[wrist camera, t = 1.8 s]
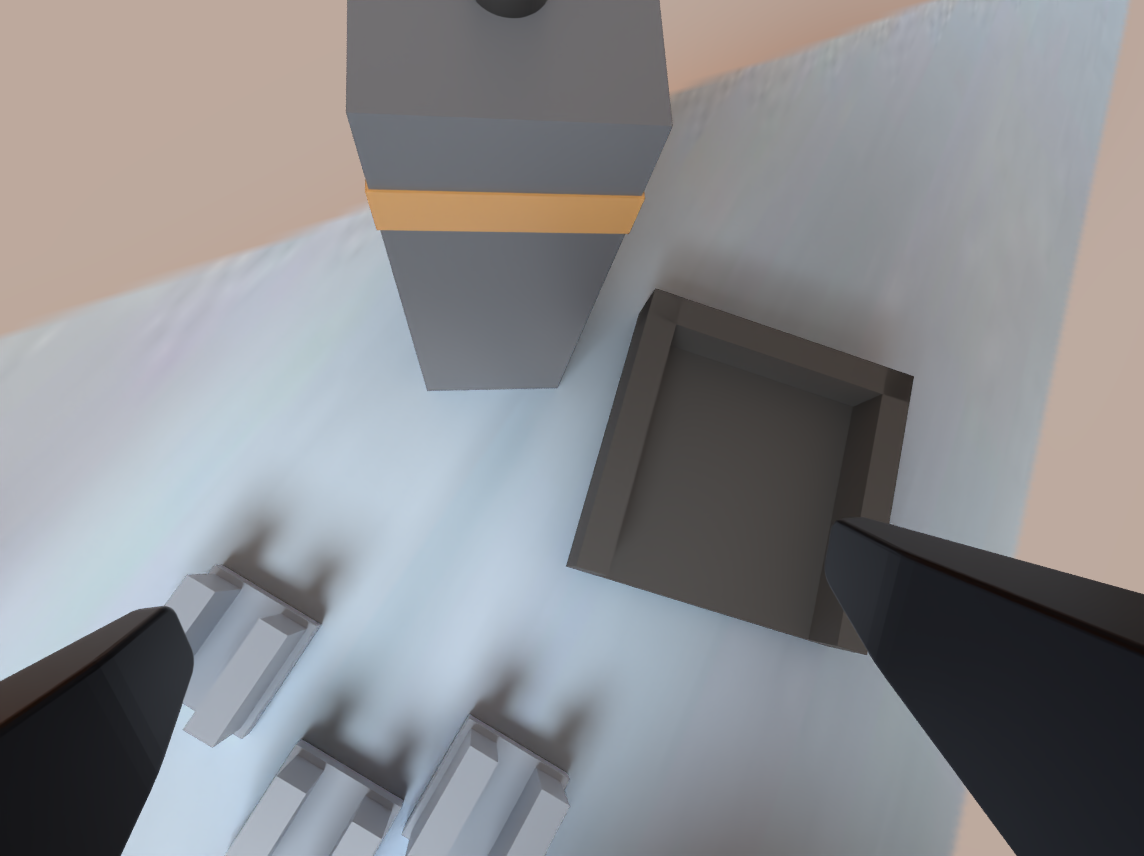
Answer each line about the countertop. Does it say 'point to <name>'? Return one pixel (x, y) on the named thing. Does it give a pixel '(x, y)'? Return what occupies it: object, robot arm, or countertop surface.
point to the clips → (326, 786)
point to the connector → (504, 168)
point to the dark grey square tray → (739, 467)
